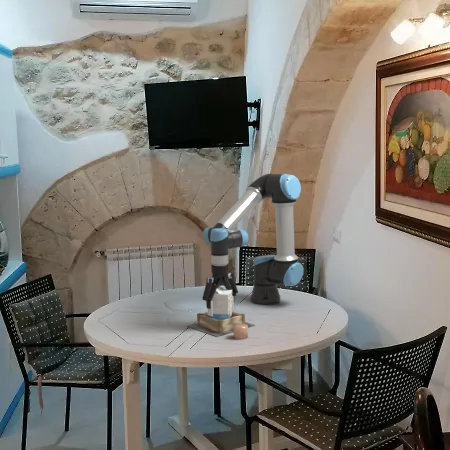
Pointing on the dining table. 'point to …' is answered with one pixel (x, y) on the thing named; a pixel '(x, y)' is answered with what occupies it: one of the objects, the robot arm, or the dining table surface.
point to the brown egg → (240, 331)
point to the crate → (218, 324)
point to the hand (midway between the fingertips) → (220, 312)
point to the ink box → (222, 304)
